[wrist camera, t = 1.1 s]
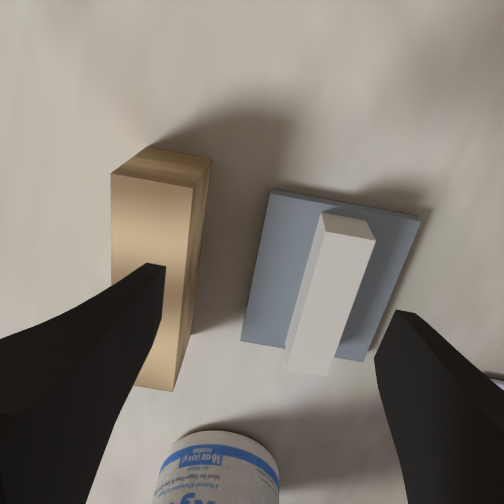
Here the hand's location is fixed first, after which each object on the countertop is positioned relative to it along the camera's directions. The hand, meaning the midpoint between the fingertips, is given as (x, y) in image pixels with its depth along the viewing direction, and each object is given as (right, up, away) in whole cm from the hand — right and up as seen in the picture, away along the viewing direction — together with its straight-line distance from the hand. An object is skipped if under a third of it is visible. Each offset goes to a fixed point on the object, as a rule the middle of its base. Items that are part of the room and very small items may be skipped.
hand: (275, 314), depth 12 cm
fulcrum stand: (+3, 0, +11) cm, 11 cm away
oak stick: (-5, +2, +11) cm, 12 cm away
